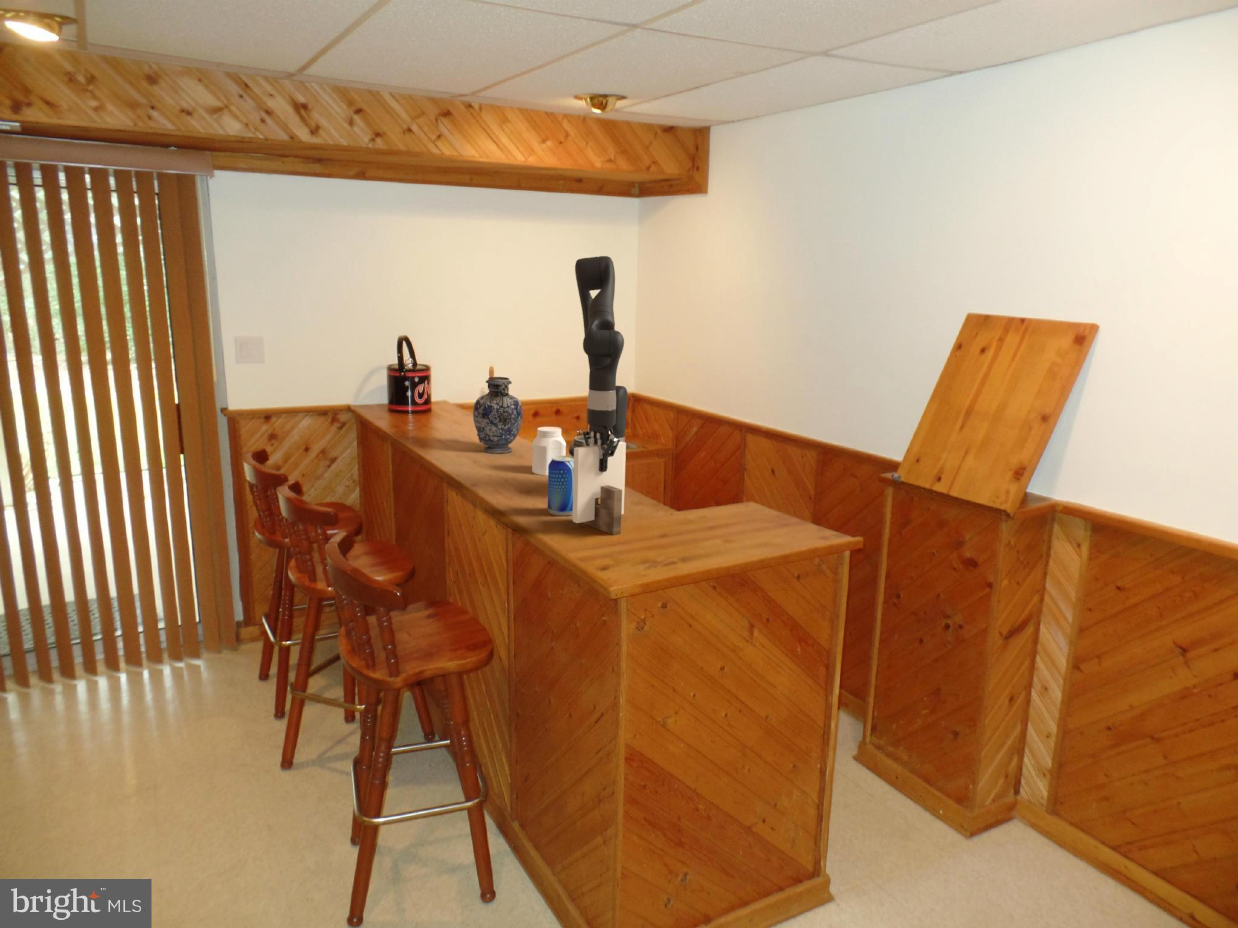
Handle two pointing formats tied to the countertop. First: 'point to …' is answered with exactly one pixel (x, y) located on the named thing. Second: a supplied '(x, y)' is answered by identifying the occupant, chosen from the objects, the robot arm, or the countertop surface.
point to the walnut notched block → (608, 510)
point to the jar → (547, 448)
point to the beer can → (561, 485)
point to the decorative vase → (497, 416)
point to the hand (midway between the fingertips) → (600, 470)
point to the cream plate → (595, 479)
